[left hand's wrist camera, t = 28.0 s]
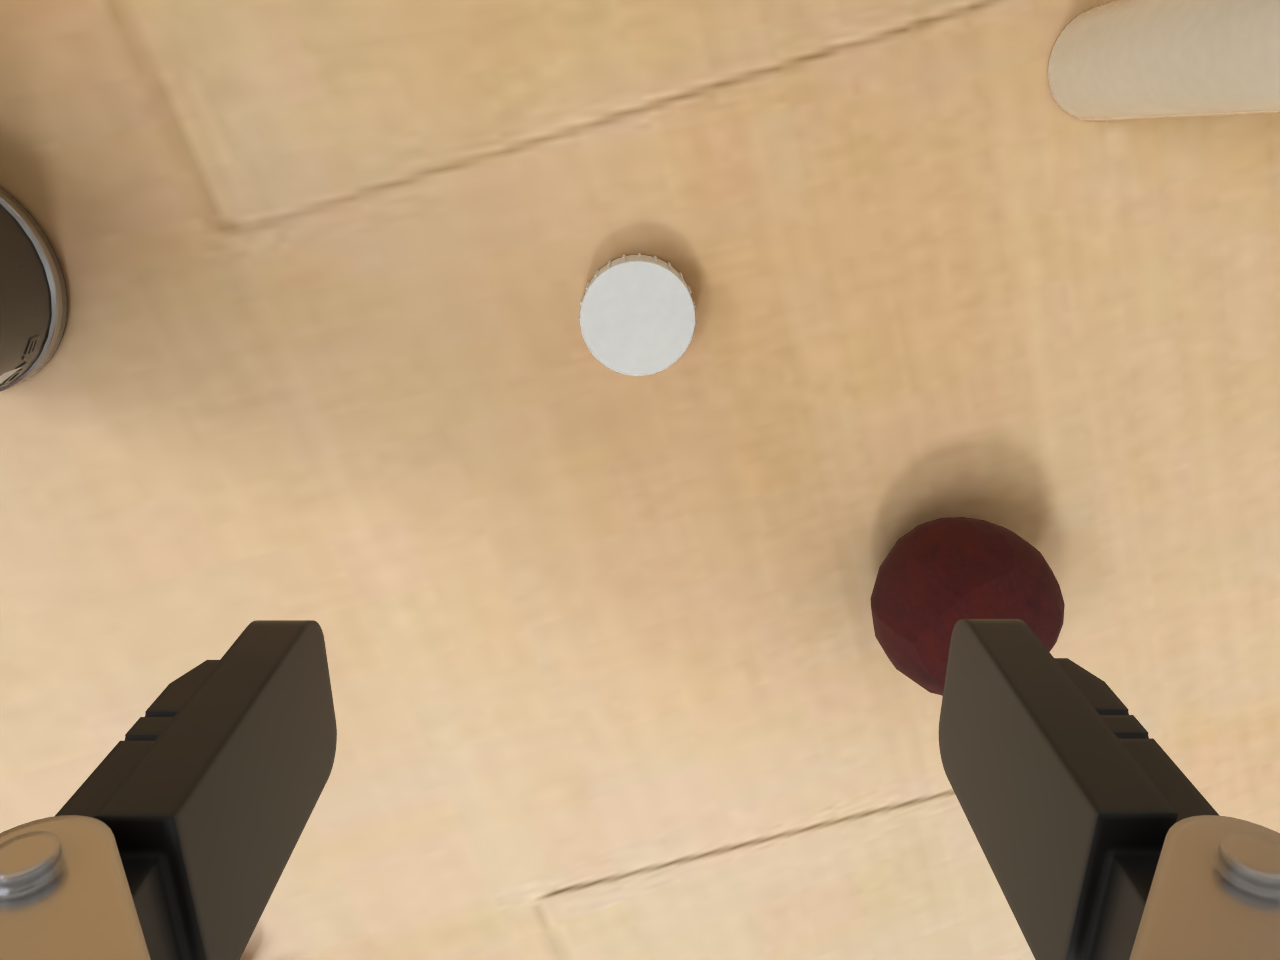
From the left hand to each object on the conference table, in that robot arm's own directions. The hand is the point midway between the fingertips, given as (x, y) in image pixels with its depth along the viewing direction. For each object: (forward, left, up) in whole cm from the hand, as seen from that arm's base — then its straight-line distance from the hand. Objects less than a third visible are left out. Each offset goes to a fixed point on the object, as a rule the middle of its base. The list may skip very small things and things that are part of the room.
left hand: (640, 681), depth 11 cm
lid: (0, 0, -26) cm, 26 cm away
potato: (+18, +3, -28) cm, 33 cm away
